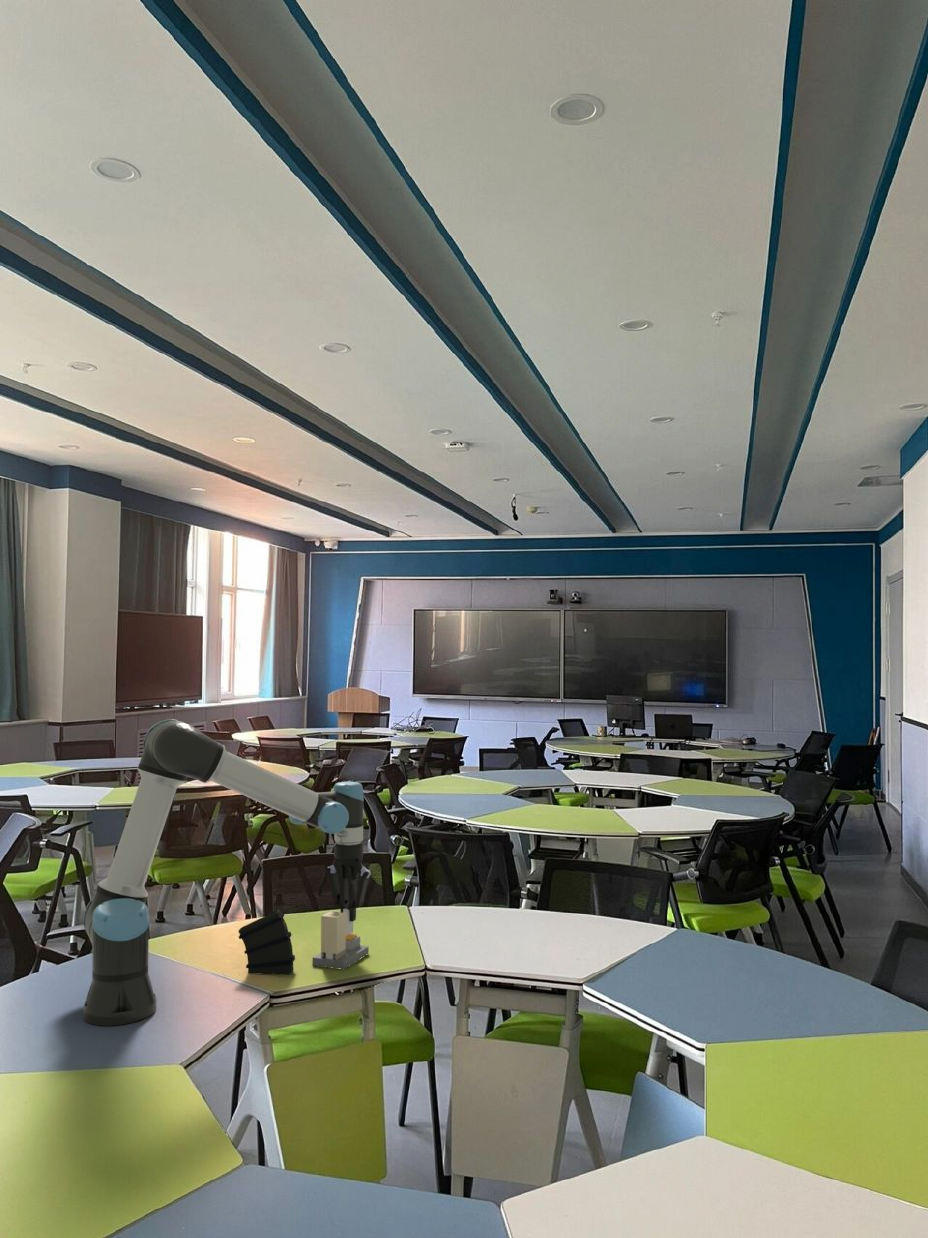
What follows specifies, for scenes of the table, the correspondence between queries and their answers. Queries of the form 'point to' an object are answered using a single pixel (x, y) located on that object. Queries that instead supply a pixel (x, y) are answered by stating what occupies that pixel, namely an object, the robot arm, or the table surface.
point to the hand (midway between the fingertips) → (348, 933)
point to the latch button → (350, 936)
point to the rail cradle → (352, 954)
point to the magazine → (268, 945)
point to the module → (333, 934)
